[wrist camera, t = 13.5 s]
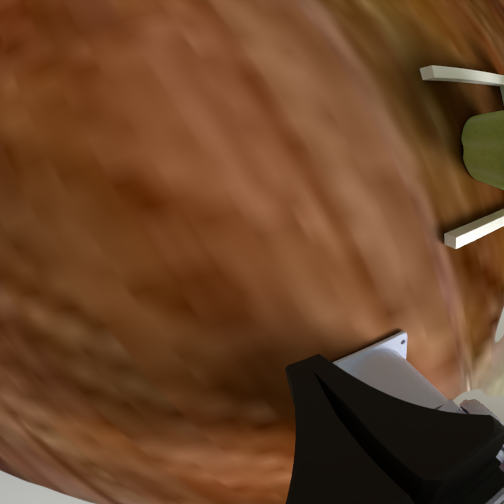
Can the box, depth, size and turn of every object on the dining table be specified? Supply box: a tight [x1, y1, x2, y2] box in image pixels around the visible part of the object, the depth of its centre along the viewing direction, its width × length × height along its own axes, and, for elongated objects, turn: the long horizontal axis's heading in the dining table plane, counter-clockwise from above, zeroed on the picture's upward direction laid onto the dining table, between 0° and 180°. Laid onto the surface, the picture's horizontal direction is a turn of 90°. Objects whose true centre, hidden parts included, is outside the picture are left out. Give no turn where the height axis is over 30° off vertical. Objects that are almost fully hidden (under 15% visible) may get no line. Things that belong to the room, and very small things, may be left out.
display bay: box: [420, 65, 504, 249], centre depth 19 cm, size 15×14×5 cm
